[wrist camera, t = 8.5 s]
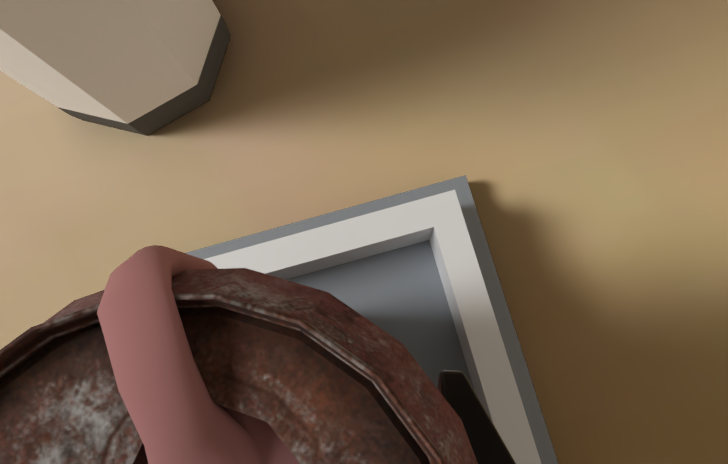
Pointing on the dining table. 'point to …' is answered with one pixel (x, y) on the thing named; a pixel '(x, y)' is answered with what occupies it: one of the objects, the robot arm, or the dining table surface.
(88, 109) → the wine bottle
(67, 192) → the dining table surface
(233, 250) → the tray
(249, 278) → the can
